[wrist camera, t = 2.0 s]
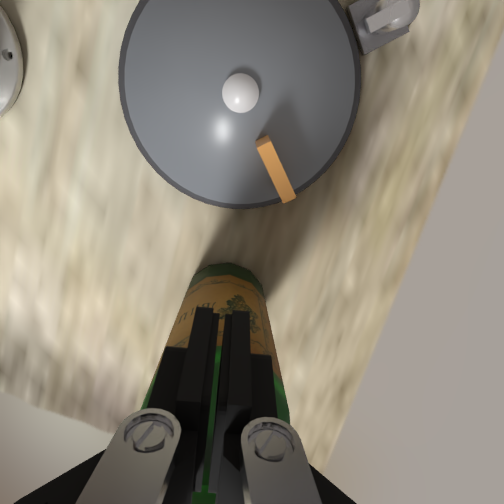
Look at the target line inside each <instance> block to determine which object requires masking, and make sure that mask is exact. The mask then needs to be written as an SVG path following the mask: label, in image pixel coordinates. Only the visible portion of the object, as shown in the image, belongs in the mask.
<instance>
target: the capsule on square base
mask: <svg viewBox="0 0 504 504" xmlns="http://www.w3.org/2000/svg"><path fill="white" fill-rule="evenodd" d="M419 7H420V2H419V0H359V1H357V2H355V3H353V4H351V5H350V6H348V7H347V8H346V9H347V12H348V15H349V18H350V21H351V23H352V26H353V29H354V32H355V35H356V38H357V41H358V44H359V47H360V50H361V53H362V55H365V54H367V53H369V52H371V51H373V50H375V49H377V48H379V47H381V46H382V45H384V44H386V43H388V42H390V41H392V40H394V39H396V38H398V37H400V36H402V35H404V34H405V33H407V32H409V29H408V24H410V23H411V22H412V21H413V20H414V19H415V18H416V16H417V14H418V12H419Z"/></svg>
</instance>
